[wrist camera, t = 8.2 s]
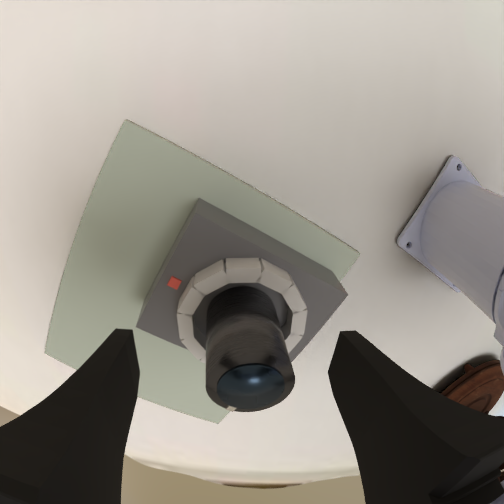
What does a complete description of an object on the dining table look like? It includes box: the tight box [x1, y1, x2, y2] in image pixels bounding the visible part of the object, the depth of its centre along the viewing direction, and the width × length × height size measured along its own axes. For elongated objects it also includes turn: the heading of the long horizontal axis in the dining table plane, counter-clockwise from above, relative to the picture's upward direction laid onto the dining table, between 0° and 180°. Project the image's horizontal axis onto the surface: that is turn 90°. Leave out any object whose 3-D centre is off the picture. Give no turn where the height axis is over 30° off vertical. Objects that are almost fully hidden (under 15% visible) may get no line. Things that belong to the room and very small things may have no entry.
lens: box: [206, 286, 295, 412], centre depth 16 cm, size 4×4×6 cm
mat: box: [45, 120, 360, 424], centre depth 22 cm, size 17×20×1 cm
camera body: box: [136, 198, 348, 364], centre depth 19 cm, size 10×8×4 cm
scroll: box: [441, 360, 504, 483], centre depth 23 cm, size 15×15×20 cm
